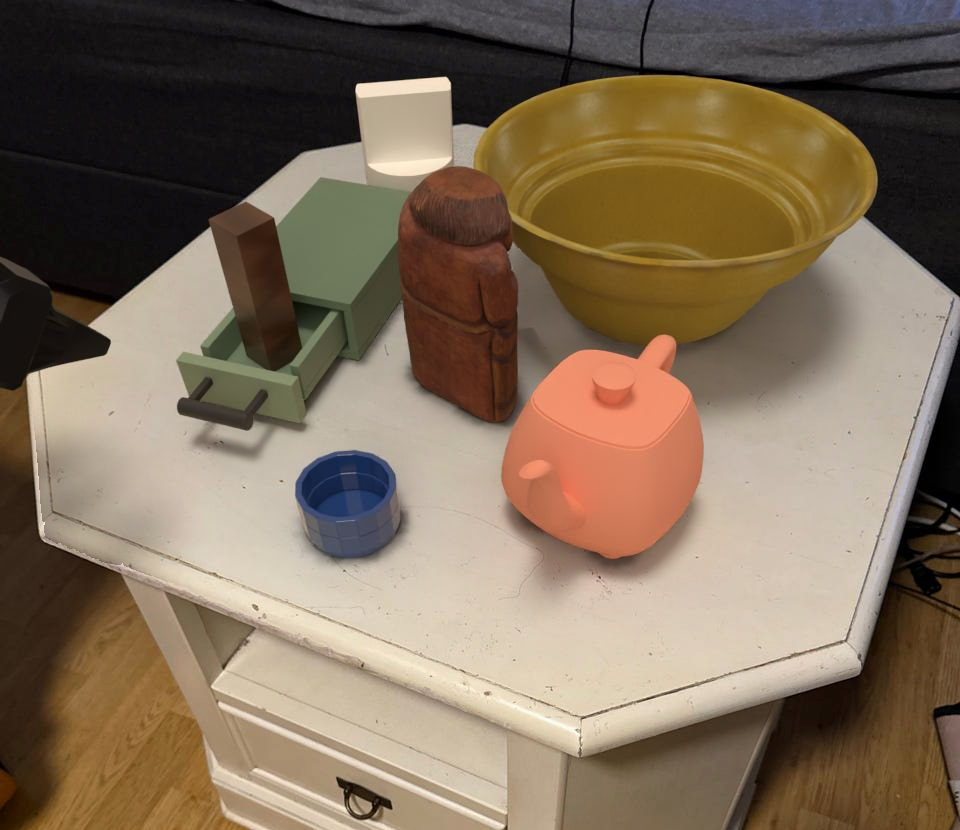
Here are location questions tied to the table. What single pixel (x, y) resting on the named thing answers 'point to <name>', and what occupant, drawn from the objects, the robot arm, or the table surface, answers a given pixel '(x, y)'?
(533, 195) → the planter bowl
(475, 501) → the table surface
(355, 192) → the cabinet
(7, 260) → the robot arm
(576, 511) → the teapot
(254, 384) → the drawer
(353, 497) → the blue bowl
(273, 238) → the walnut block
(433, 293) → the wooden figurine
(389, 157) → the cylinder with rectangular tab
